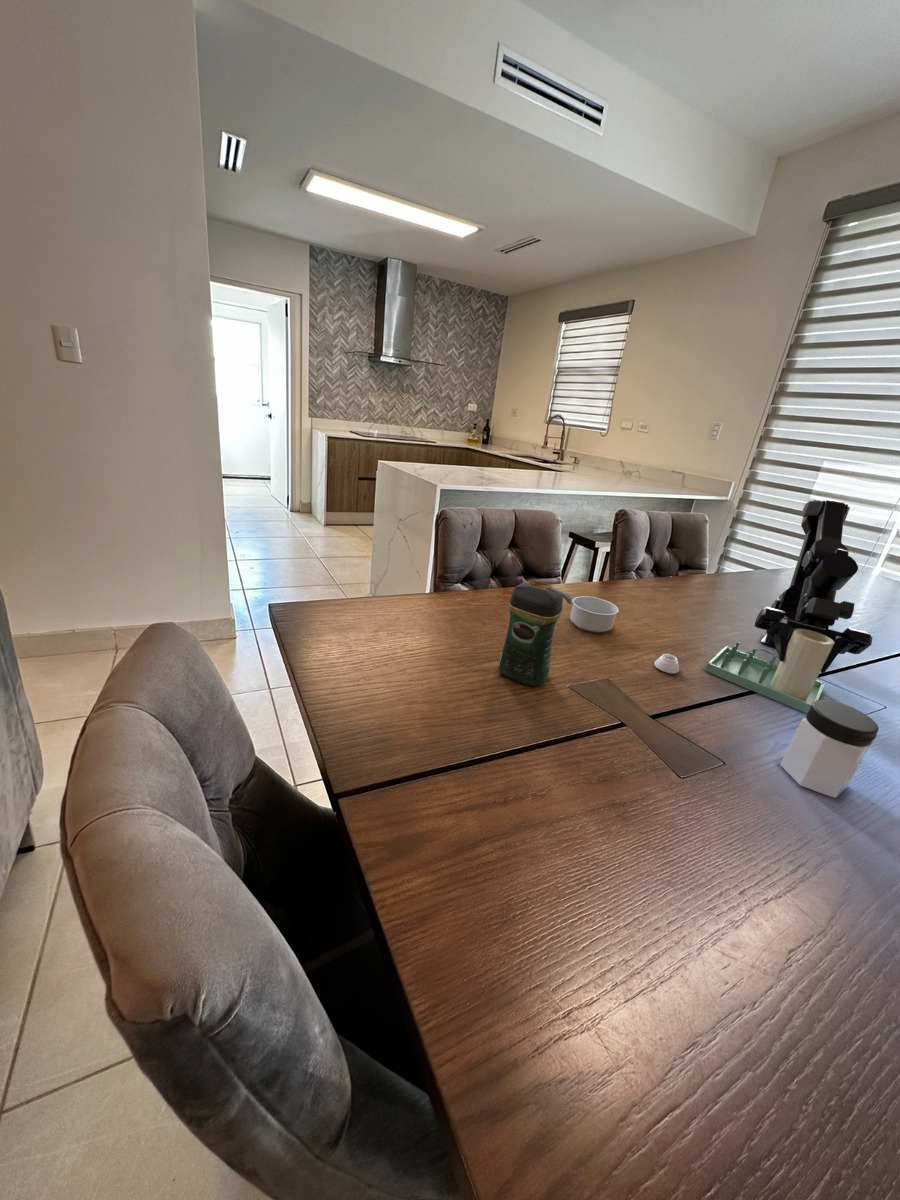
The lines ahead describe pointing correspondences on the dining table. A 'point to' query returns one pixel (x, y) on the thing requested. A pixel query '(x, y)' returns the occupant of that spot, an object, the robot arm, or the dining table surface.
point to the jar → (829, 747)
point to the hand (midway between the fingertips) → (801, 666)
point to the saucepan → (590, 612)
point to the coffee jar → (530, 634)
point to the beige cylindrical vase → (802, 663)
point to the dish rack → (757, 676)
